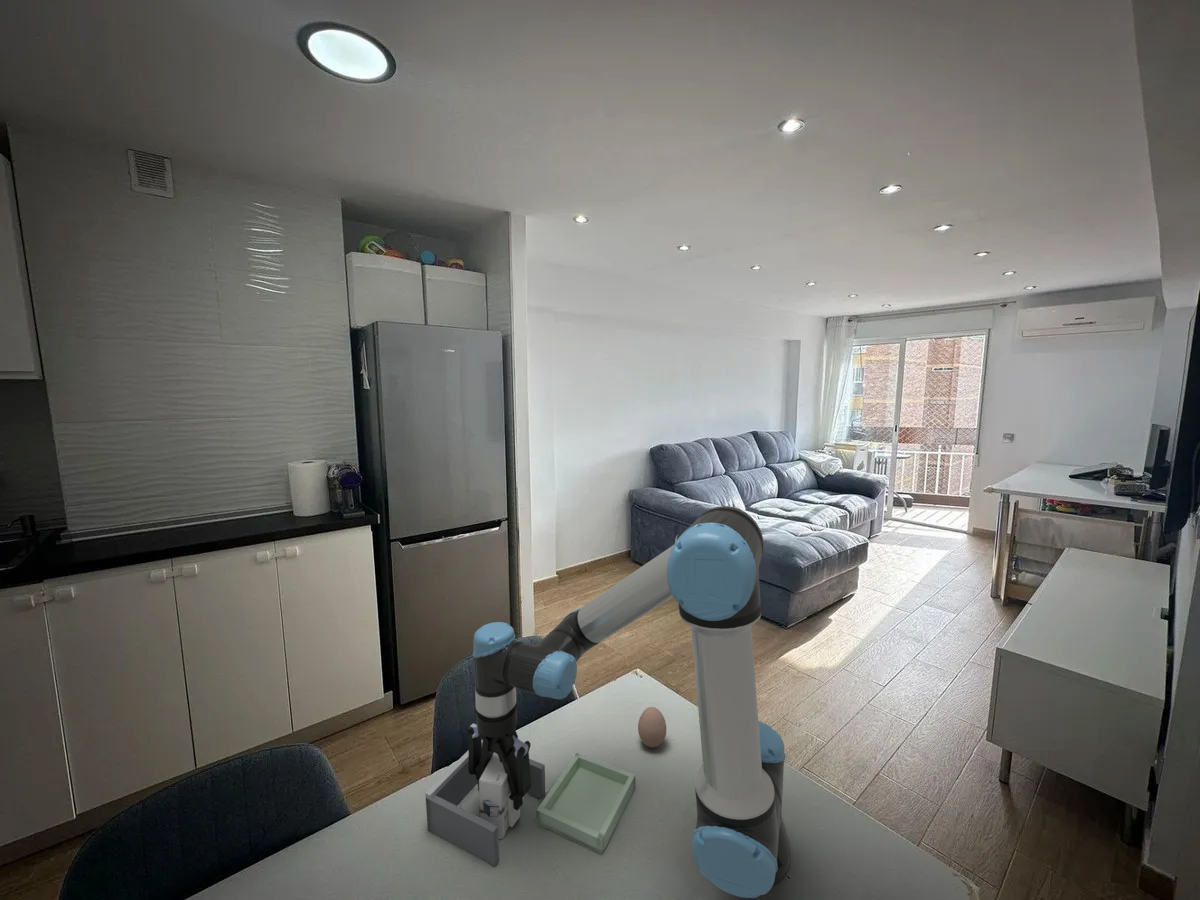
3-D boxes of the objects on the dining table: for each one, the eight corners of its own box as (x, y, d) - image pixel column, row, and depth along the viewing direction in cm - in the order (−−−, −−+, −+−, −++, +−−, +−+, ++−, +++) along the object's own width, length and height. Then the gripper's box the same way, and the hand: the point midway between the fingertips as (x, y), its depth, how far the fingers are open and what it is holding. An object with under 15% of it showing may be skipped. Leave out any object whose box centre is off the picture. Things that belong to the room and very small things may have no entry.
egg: (653, 760, 107) (653, 723, 106) (632, 743, 112) (632, 708, 111) (672, 745, 112) (672, 709, 111) (651, 730, 117) (651, 695, 115)
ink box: (498, 797, 98) (495, 745, 96) (521, 801, 97) (519, 749, 95) (479, 836, 90) (476, 780, 88) (504, 840, 89) (502, 784, 87)
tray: (635, 787, 100) (635, 774, 100) (601, 854, 86) (601, 840, 85) (576, 764, 106) (576, 752, 106) (536, 823, 92) (536, 810, 92)
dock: (545, 795, 98) (544, 760, 97) (494, 867, 84) (493, 826, 83) (484, 768, 105) (482, 735, 104) (427, 830, 91) (425, 792, 90)
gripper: (549, 708, 89) (552, 817, 92) (471, 681, 98) (475, 782, 101) (526, 734, 83) (530, 851, 86) (444, 703, 91) (450, 810, 94)
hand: (500, 813), depth 93 cm, fingers closed on ink box, 6 cm apart
